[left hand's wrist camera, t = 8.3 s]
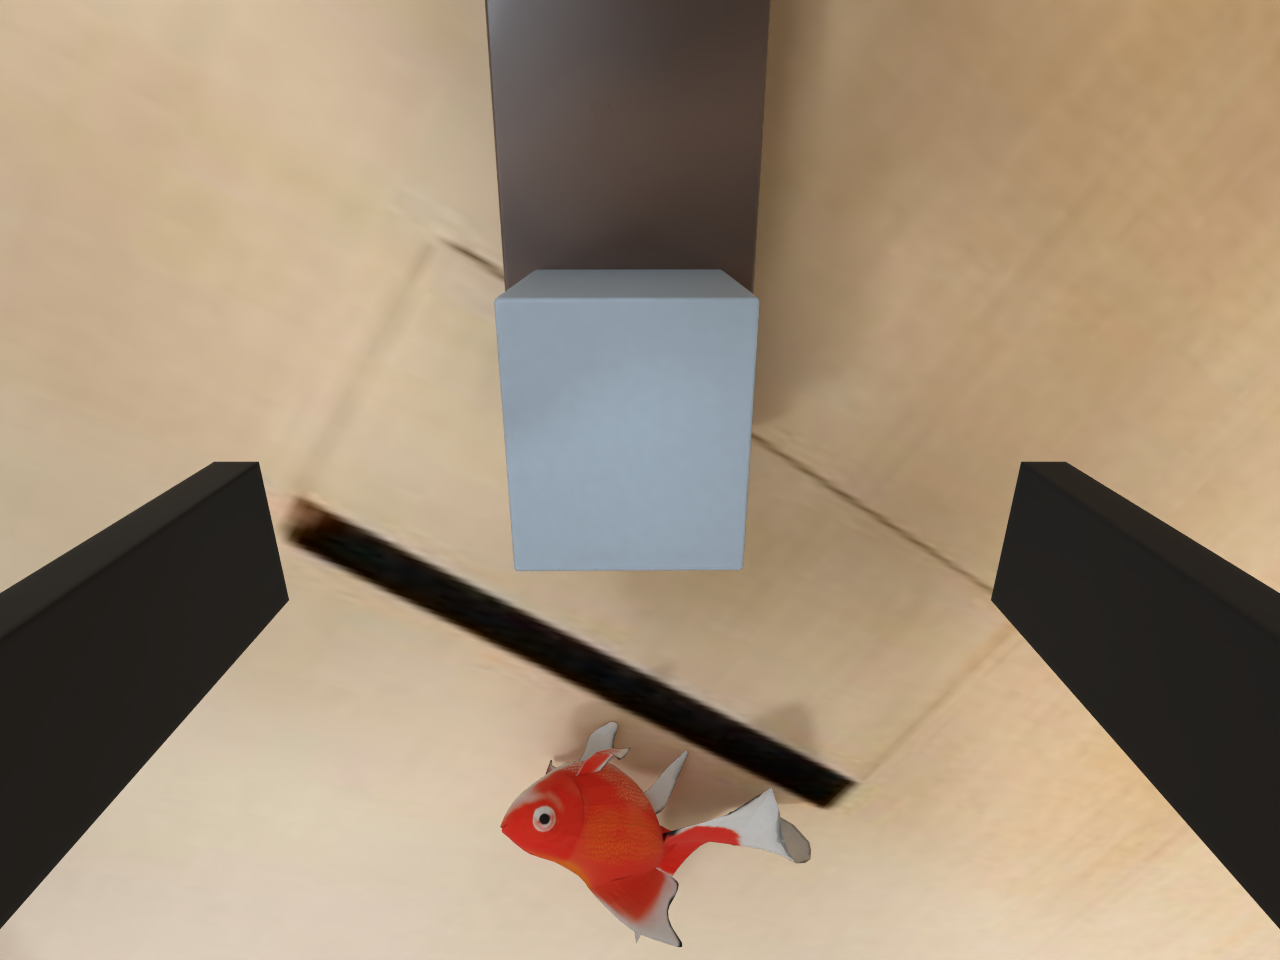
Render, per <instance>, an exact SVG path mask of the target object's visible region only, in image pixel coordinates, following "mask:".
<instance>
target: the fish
mask: <svg viewBox="0 0 1280 960" xmlns="http://www.w3.org/2000/svg"><path fill="white" fill-rule="evenodd" d="M617 728H618V725H617V723H615V722H610V723H608V724H606V725H604V726H602V727H601V728H599V729H597V730H595V731H594V732H593V733H592V734H591V735H590V737H589V739H588V742H587V745H586V750H585V752H584V754H583V756H582V757H581V758H580V760H579V761H574V762H569V763H566V764H564V765H561V766H559V767H558V768H555V767H554V766H552V760H551V761H550V764H549V767H548V769H547V772H546V775H545V776H543V777H542V778H541V779H539V780H538V781H536V782H535V783H534V784H533V785H531V786H530V787H529V788H528V789H526V790H525V791H524V792H523V793H522V794H521V795H520V796H519V797H518V798H517V799H516V800H515V801H514V802H513V803H512V805H511V806H510V808H509V809H508V811H507V813H506V815H505V817H504V819H503V821H502V824H501V828H502V832H503V833H504V834H505V835H506V836H507V837H509V838H510V839H511V840H512V841H513V842H514V843H515V844H516V845H518V846H519V847H520V848H522V849H523V850H524V851H526V852H528V853H529V854H531V855H535V856H537V857H540V858H544V859H547V860H550V861H554V862H556V863H558V864H560V865H562V866H564V867H565V868H567V869H569V870H570V871H572V872H574V873H575V874H577V875H578V876H579V877H580V878H581V879H582V880H583V881H584V882H585V883H586V885H587V886H588V888H589V889H590V890H591V891H592V893H593V894H594V895H595V896H596V897H597V898H598V899H599V900H600V901H601V902H602V903H603V905H604V906H605V907H606V908H607V909H608V910H610V911H611V912H612V913H613V914H614V915H615V916H616V917H617V918H618V919H619V920H620V921H621V922H623V923H624V924H625V925H627V926H628V927H629V928H630V929H632V930H633V931H634V932H635V937H636V943H637V941H638V939H639V937H640V935H641V934H642V935H644V936H646V937H649V938H651V939H654V940H657V941H660V942H663V943H667V944H670V945H673V946H677V947H682V942H681V941H680V939H679V938H678V936H677V934H676V933H675V931H674V930H673V928H672V926H671V924H670V921H669V919H668V909H669V906H670V904H671V902H672V900H673V898H674V897H675V895H676V892H677V890H678V886H679V885H678V882H677V881H676V880H675V879H674V878H672V876H673V874H674V873H675V872H676V870H677V869H678V867H679V866H680V865H681V864H682V863H683V862H684V860H685V859H686V858H687V857H688V856H689V855H690V854H691V853H692V852H693V851H695V850H696V849H697V848H698V847H700V846H701V845H703V844H705V843H706V842H718V843H726V844H731V845H739V846H745V847H751V848H757V849H762V850H766V851H769V852H773V853H776V854H779V855H781V856H784V857H785V858H787V859H789V860H791V861H793V862H795V863H805V862H807V861H808V860H810V854H811V849H810V844H809V841H808V840H807V839H806V838H805V837H804V836H803V835H802V834H801V833H800V832H799V830H798V829H797V828H796V827H795V826H794V825H793V824H791V823H789V822H787V821H786V820H784V819H782V818H780V812H779V809H778V806H777V803H776V800H775V796H774V793H773V790H772V788H770V789H768V790H767V791H765V792H763V793H762V794H760V795H758V796H757V797H755V798H754V799H752V800H750V801H749V802H747V803H746V804H744V805H743V806H741V807H739V808H738V809H736V810H735V811H732V812H730V813H729V814H728V815H725V816H722V817H719V818H716V819H713V820H710V821H706V822H703V823H699V824H696V825H692V826H689V827H685V828H681V829H678V830H674V831H670V830H668V829H666V828H664V827H662V826H660V825H659V822H658V820H657V817H656V814H658V813H659V812H661V811H662V810H663V809H664V807H665V806H666V804H667V802H668V800H669V798H670V795H671V793H672V790H673V787H674V785H675V782H676V780H677V777H678V775H679V773H680V770H681V768H682V766H683V764H684V761H685V759H686V757H687V755H688V753H687V751H685V752H684V753H683V754H681V755H680V756H679V757H678V758H677V759H676V760H675V761H674V762H673V763H672V764H671V765H670V766H669V767H668V768H667V769H666V770H665V771H664V772H663V773H662V774H661V776H660V777H659V778H658V779H657V781H656V782H655V783H654V784H653V785H652V787H651V788H650V789H648V790H647V791H646V792H644V793H643V791H642V790H641V789H640V788H639V786H638V785H637V784H636V783H635V782H634V781H633V780H632V779H631V778H630V777H629V776H628V775H626V774H625V773H624V772H622V771H621V770H620V769H618V768H617V767H615V766H614V765H612V764H610V763H608V762H609V761H610V760H611V759H612V757H613V755H614V756H616V757H617V758H618V759H619V760H620V759H622V758H623V757H624V756H625V755H626V753H627V752H628V751H629V750H630V748H626V749H618V748H613V747H614V739H615V734H616V731H617Z"/></svg>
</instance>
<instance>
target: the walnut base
mask: <svg viewBox="0 0 1280 960" xmlns="http://www.w3.org/2000/svg"><path fill="white" fill-rule="evenodd" d="M485 9H486V23H487V38H488V52H489V66H490V80H491V95H492V109H493V123H494V137H495V152H496V166H497V180H498V194H499V208H500V223H501V237H502V251H503V265H504V280H505V291H507V290H508V289H509V288H511V287H512V286H514V285H515V284H516V283H518V282H519V281H521V280H522V279H523V278H525V277H526V276H528V275H529V274H530V273H532V272H533V271H535V270H623V269H720V270H723V271H724V272H725V273H726V274H728V275H729V276H730V277H732V278H733V279H734V280H736V281H737V282H738V283H739V284H741V285H742V286H743V287H745V288H746V289H747V290H749V291H750V292H751V293H752V294H753V288H754V271H755V254H756V237H757V220H758V203H759V187H760V170H761V153H762V136H763V119H764V102H765V85H766V68H767V51H768V34H769V17H770V0H485Z"/></svg>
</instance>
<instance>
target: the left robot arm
mask: <svg viewBox="0 0 1280 960" xmlns="http://www.w3.org/2000/svg"><path fill="white" fill-rule="evenodd" d="M288 601H289V598H288V593H287V589H286V584H285V580H284V575H283V570H282V566H281V561H280V557H279V552H278V548H277V543H276V538H275V534H274V529H273V525H272V520H271V516H270V511H269V506H268V502H267V497H266V493H265V488H264V484H263V479H262V474H261V470H260V465H259V462H213V463H212V464H210V465H208V466H207V467H205V468H203V469H202V470H200V471H199V472H197V473H195V474H194V475H192V476H190V477H189V478H187V479H186V480H184V481H182V482H181V483H179V484H177V485H176V486H174V487H173V488H171V489H169V490H168V491H166V492H164V493H163V494H161V495H159V496H158V497H156V498H155V499H153V500H151V501H150V502H148V503H146V504H145V505H143V506H142V507H140V508H138V509H137V510H135V511H133V512H132V513H130V514H129V515H127V516H125V517H124V518H122V519H120V520H119V521H117V522H116V523H114V524H112V525H111V526H109V527H107V528H106V529H104V530H103V531H101V532H99V533H98V534H96V535H94V536H93V537H91V538H89V539H88V540H86V541H85V542H83V543H81V544H80V545H78V546H76V547H75V548H73V549H72V550H70V551H68V552H67V553H65V554H63V555H62V556H60V557H59V558H57V559H55V560H54V561H52V562H50V563H49V564H47V565H46V566H44V567H42V568H41V569H39V570H37V571H36V572H34V573H33V574H31V575H29V576H28V577H26V578H24V579H23V580H21V581H20V582H18V583H16V584H15V585H13V586H11V587H10V588H8V589H6V590H5V591H3V592H2V593H0V929H1V928H2V926H3V925H4V924H5V923H6V922H7V921H8V920H9V918H10V917H11V916H12V915H13V914H14V913H15V912H16V910H17V909H18V908H19V907H20V906H21V905H22V904H23V902H24V901H25V900H26V899H27V898H28V897H29V896H30V894H31V893H32V892H33V891H34V890H35V889H36V888H37V887H38V885H39V884H40V883H41V882H42V881H43V880H44V879H45V877H46V876H47V875H48V874H49V873H50V872H51V871H52V869H53V868H54V867H55V866H56V865H57V864H58V863H59V861H60V860H61V859H62V858H63V857H64V856H65V855H66V853H67V852H68V851H69V850H70V849H71V848H72V847H73V846H74V844H75V843H76V842H77V841H78V840H79V839H80V838H81V836H82V835H83V834H84V833H85V832H86V831H87V830H88V828H89V827H90V826H91V825H92V824H93V823H94V822H95V820H96V819H97V818H98V817H99V816H100V815H101V814H102V812H103V811H104V810H105V809H106V808H107V807H108V806H109V805H110V803H111V802H112V801H113V800H114V799H115V798H116V797H117V795H118V794H119V793H120V792H121V791H122V790H123V789H124V787H125V786H126V785H127V784H128V783H129V782H130V781H131V779H132V778H133V777H134V776H135V775H136V774H137V773H138V771H139V770H140V769H141V768H142V767H143V766H144V765H145V764H146V762H147V761H148V760H149V759H150V758H151V757H152V756H153V754H154V753H155V752H156V751H157V750H158V749H159V748H160V746H161V745H162V744H163V743H164V742H165V741H166V740H167V738H168V737H169V736H170V735H171V734H172V733H173V732H174V730H175V729H176V728H177V727H178V726H179V725H180V724H181V723H182V721H183V720H184V719H185V718H186V717H187V716H188V715H189V713H190V712H191V711H192V710H193V709H194V708H195V707H196V705H197V704H198V703H199V702H200V701H201V700H202V699H203V697H204V696H205V695H206V694H207V693H208V692H209V691H210V689H211V688H212V687H213V686H214V685H215V684H216V683H217V681H218V680H219V679H220V678H221V677H222V676H223V675H224V674H225V672H226V671H227V670H228V669H229V668H230V667H231V666H232V664H233V663H234V662H235V661H236V660H237V659H238V658H239V656H240V655H241V654H242V653H243V652H244V651H245V650H246V648H247V647H248V646H249V645H250V644H251V643H252V642H253V640H254V639H255V638H256V637H257V636H258V635H259V634H260V633H261V631H262V630H263V629H264V628H265V627H266V626H267V625H268V623H269V622H270V621H271V620H272V619H273V618H274V617H275V615H276V614H277V613H278V612H279V611H280V610H281V609H282V607H283V606H284V605H285V604H286V603H287V602H288ZM991 601H992V602H993V603H994V604H995V605H996V606H997V607H998V609H999V610H1000V611H1001V612H1002V613H1003V614H1004V615H1005V617H1006V618H1007V619H1008V620H1009V621H1010V622H1011V623H1012V625H1013V626H1014V627H1015V628H1016V629H1017V630H1018V631H1019V633H1020V634H1021V635H1022V636H1023V637H1024V638H1025V639H1026V640H1027V642H1028V643H1029V644H1030V645H1031V646H1032V647H1033V648H1034V650H1035V651H1036V652H1037V653H1038V654H1039V655H1040V656H1041V658H1042V659H1043V660H1044V661H1045V662H1046V663H1047V664H1048V666H1049V667H1050V668H1051V669H1052V670H1053V671H1054V672H1055V674H1056V675H1057V676H1058V677H1059V678H1060V679H1061V680H1062V681H1063V683H1064V684H1065V685H1066V686H1067V687H1068V688H1069V689H1070V691H1071V692H1072V693H1073V694H1074V695H1075V696H1076V697H1077V699H1078V700H1079V701H1080V702H1081V703H1082V704H1083V705H1084V707H1085V708H1086V709H1087V710H1088V711H1089V712H1090V713H1091V715H1092V716H1093V717H1094V718H1095V719H1096V720H1097V721H1098V723H1099V724H1100V725H1101V726H1102V727H1103V728H1104V729H1105V730H1106V732H1107V733H1108V734H1109V735H1110V736H1111V737H1112V738H1113V740H1114V741H1115V742H1116V743H1117V744H1118V745H1119V746H1120V748H1121V749H1122V750H1123V751H1124V752H1125V753H1126V754H1127V756H1128V757H1129V758H1130V759H1131V760H1132V761H1133V762H1134V764H1135V765H1136V766H1137V767H1138V768H1139V769H1140V770H1141V771H1142V773H1143V774H1144V775H1145V776H1146V777H1147V778H1148V779H1149V781H1150V782H1151V783H1152V784H1153V785H1154V786H1155V787H1156V789H1157V790H1158V791H1159V792H1160V793H1161V794H1162V795H1163V797H1164V798H1165V799H1166V800H1167V801H1168V802H1169V803H1170V805H1171V806H1172V807H1173V808H1174V809H1175V810H1176V811H1177V812H1178V814H1179V815H1180V816H1181V817H1182V818H1183V819H1184V820H1185V822H1186V823H1187V824H1188V825H1189V826H1190V827H1191V828H1192V830H1193V831H1194V832H1195V833H1196V834H1197V835H1198V836H1199V838H1200V839H1201V840H1202V841H1203V842H1204V843H1205V844H1206V846H1207V847H1208V848H1209V849H1210V850H1211V851H1212V852H1213V853H1214V855H1215V856H1216V857H1217V858H1218V859H1219V860H1220V861H1221V863H1222V864H1223V865H1224V866H1225V867H1226V868H1227V869H1228V871H1229V872H1230V873H1231V874H1232V875H1233V876H1234V877H1235V879H1236V880H1237V881H1238V882H1239V883H1240V884H1241V885H1242V887H1243V888H1244V889H1245V890H1246V891H1247V892H1248V893H1249V894H1250V896H1251V897H1252V898H1253V899H1254V900H1255V901H1256V902H1257V904H1258V905H1259V906H1260V907H1261V908H1262V909H1263V910H1264V912H1265V913H1266V914H1267V915H1268V916H1269V917H1270V918H1271V920H1272V921H1273V922H1274V923H1275V924H1276V925H1277V926H1278V928H1279V929H1280V593H1278V592H1277V591H1275V590H1274V589H1272V588H1270V587H1269V586H1267V585H1265V584H1264V583H1262V582H1260V581H1259V580H1257V579H1256V578H1254V577H1252V576H1251V575H1249V574H1247V573H1246V572H1244V571H1243V570H1241V569H1239V568H1238V567H1236V566H1234V565H1233V564H1231V563H1230V562H1228V561H1226V560H1225V559H1223V558H1221V557H1220V556H1218V555H1217V554H1215V553H1213V552H1212V551H1210V550H1208V549H1207V548H1205V547H1204V546H1202V545H1200V544H1199V543H1197V542H1195V541H1194V540H1192V539H1191V538H1189V537H1187V536H1186V535H1184V534H1182V533H1181V532H1179V531H1177V530H1176V529H1174V528H1173V527H1171V526H1169V525H1168V524H1166V523H1164V522H1163V521H1161V520H1160V519H1158V518H1156V517H1155V516H1153V515H1151V514H1150V513H1148V512H1147V511H1145V510H1143V509H1142V508H1140V507H1138V506H1137V505H1135V504H1134V503H1132V502H1130V501H1129V500H1127V499H1125V498H1124V497H1122V496H1121V495H1119V494H1117V493H1116V492H1114V491H1112V490H1111V489H1109V488H1107V487H1106V486H1104V485H1103V484H1101V483H1099V482H1098V481H1096V480H1094V479H1093V478H1091V477H1090V476H1088V475H1086V474H1085V473H1083V472H1081V471H1080V470H1078V469H1077V468H1075V467H1073V466H1072V465H1070V464H1068V463H1067V462H1021V465H1020V470H1019V474H1018V479H1017V484H1016V488H1015V493H1014V497H1013V502H1012V506H1011V511H1010V516H1009V520H1008V525H1007V529H1006V534H1005V538H1004V543H1003V548H1002V552H1001V557H1000V561H999V566H998V570H997V575H996V580H995V584H994V589H993V593H992V598H991Z"/></svg>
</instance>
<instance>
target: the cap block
mask: <svg viewBox="0 0 1280 960" xmlns="http://www.w3.org/2000/svg"><path fill="white" fill-rule="evenodd" d="M494 304H495V317H496V331H497V344H498V357H499V370H500V383H501V396H502V409H503V423H504V436H505V449H506V462H507V475H508V488H509V501H510V515H511V528H512V541H513V554H514V567H515V569H516V571H625V570H741V569H742V567H743V560H744V544H745V528H746V512H747V496H748V480H749V465H750V449H751V433H752V417H753V401H754V385H755V369H756V354H757V338H758V322H759V306H760V301H759V298H758V297H756V296H755V295H754V294H752V293H751V292H750V291H749V290H747V289H746V288H745V287H743V286H742V285H741V284H739V283H738V282H737V281H736V280H734V279H733V278H732V277H730V276H729V275H728V274H726V273H725V272H724V271H723V270H720V269H623V270H535V271H533V272H532V273H530V274H529V275H528V276H526V277H525V278H523V279H522V280H521V281H519V282H518V283H516V284H515V285H514V286H512V287H511V288H509V289H508V290H507V291H505V292H504V293H502V294H501V295H500V296H498V297H497V298H495V301H494Z"/></svg>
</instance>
